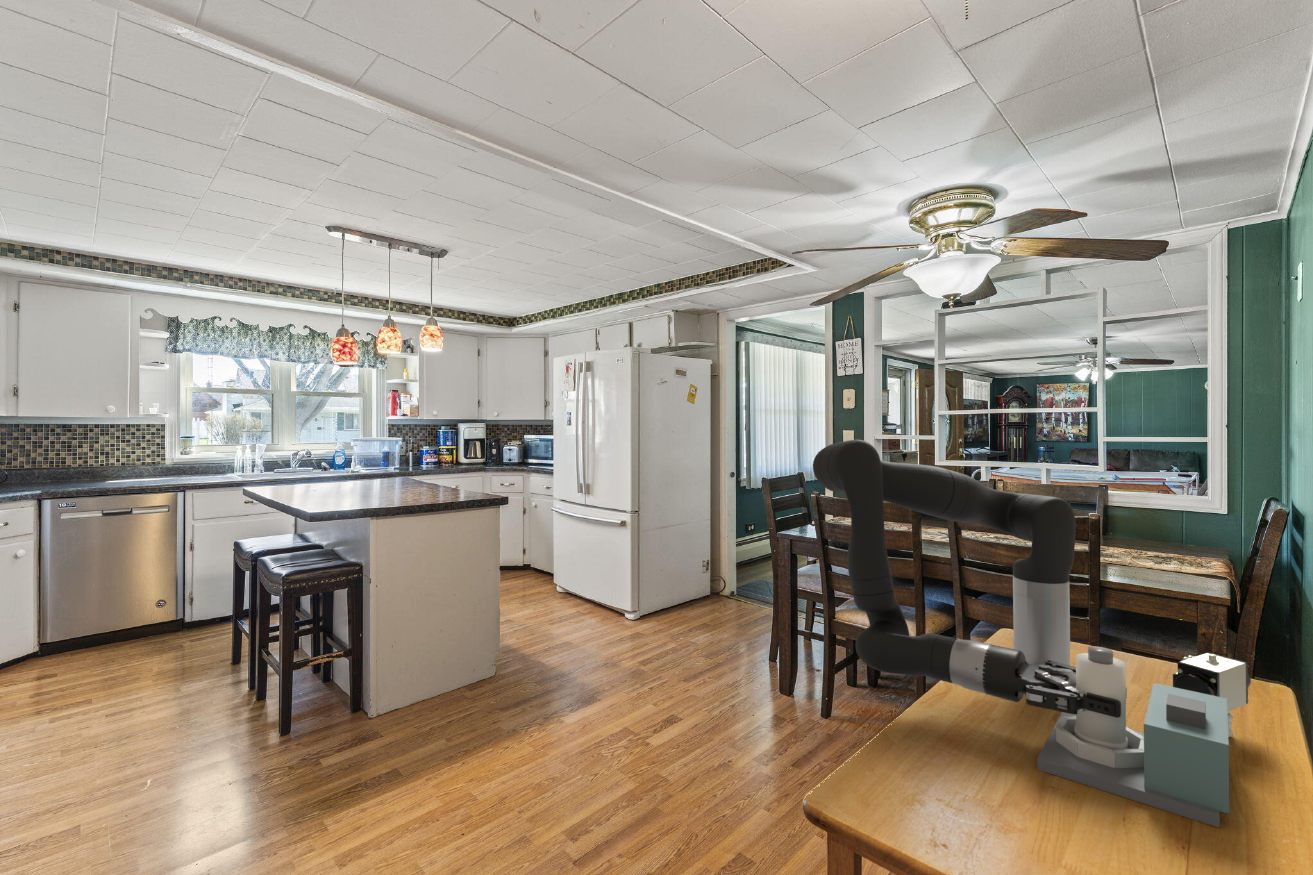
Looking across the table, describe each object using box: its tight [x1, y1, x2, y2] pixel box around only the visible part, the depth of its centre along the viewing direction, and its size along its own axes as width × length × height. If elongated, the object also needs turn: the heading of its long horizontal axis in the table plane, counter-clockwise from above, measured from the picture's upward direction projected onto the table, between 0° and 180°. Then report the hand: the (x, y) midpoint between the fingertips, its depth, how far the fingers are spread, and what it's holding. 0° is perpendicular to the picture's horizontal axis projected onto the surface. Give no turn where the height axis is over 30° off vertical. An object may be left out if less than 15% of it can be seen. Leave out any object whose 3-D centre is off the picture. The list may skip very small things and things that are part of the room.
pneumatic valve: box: [1172, 652, 1252, 739], centre depth 90 cm, size 6×12×12 cm, turn 115°
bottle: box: [1074, 645, 1128, 750], centre depth 83 cm, size 6×6×12 cm
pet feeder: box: [1036, 682, 1230, 829], centre depth 81 cm, size 19×19×12 cm
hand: (1123, 701), depth 82 cm, fingers closed on bottle, 5 cm apart
